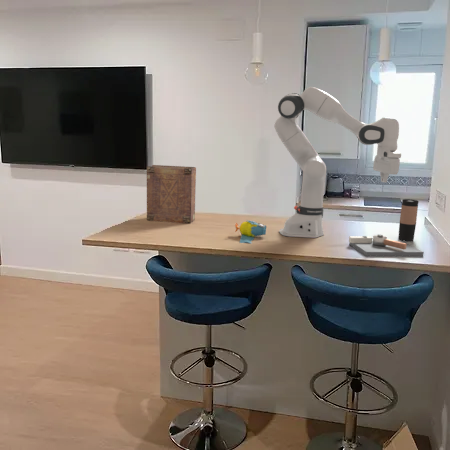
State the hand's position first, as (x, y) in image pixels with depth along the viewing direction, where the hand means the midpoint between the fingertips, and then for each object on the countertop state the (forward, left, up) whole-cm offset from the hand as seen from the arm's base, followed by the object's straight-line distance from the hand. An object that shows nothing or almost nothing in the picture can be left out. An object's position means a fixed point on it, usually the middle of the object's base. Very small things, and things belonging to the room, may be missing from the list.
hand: (383, 182), depth 227 cm
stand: (-4, -17, -29) cm, 34 cm away
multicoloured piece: (-3, -19, -27) cm, 33 cm away
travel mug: (+16, +3, -29) cm, 34 cm away
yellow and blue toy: (-62, +8, -30) cm, 69 cm away
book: (-101, +45, -29) cm, 114 cm away
